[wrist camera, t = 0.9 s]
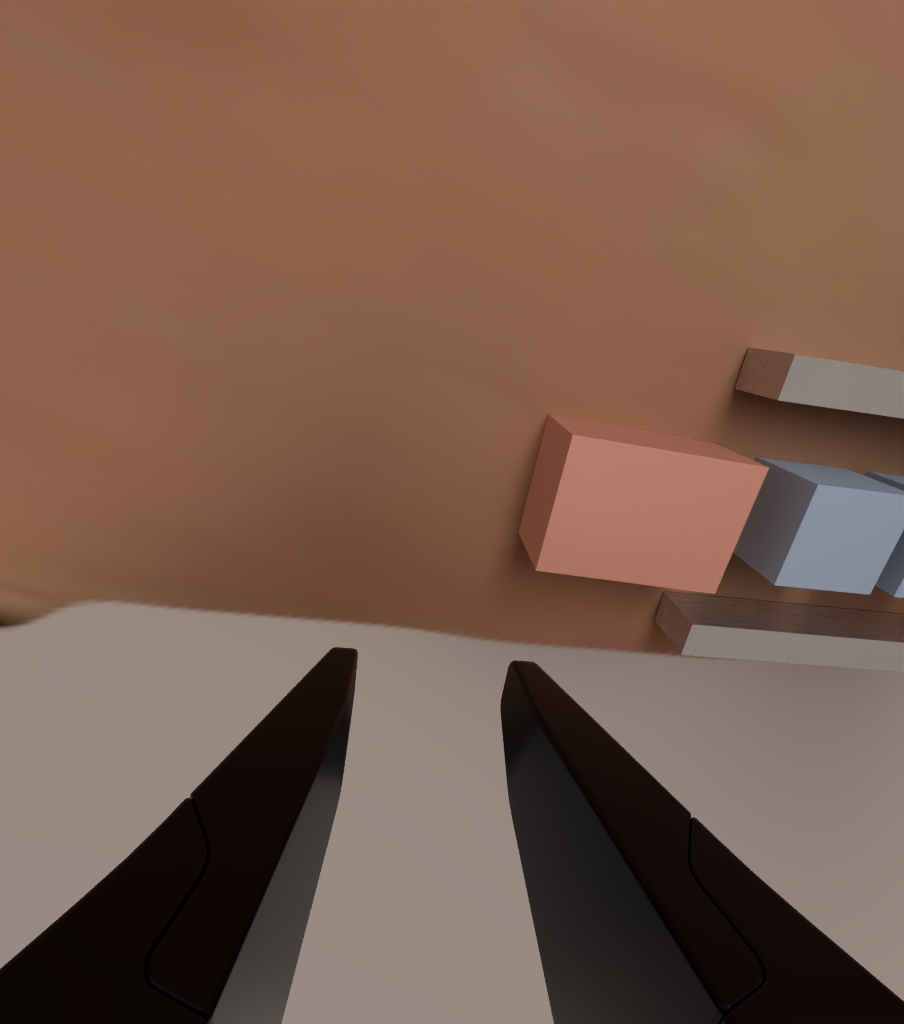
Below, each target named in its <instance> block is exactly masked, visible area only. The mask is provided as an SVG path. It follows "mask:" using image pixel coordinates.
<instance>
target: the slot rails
mask: <svg viewBox="0 0 904 1024" xmlns="http://www.w3.org/2000/svg"><path fill="white" fill-rule="evenodd" d="M734 389H737V390H741V391H745V392H749V393H752V394H756V395H760V396H764V397H767V398H771V399H775V400H779V401H786V402H793V403H800V404H807V405H813V406H820V407H827V408H834V409H841V410H848V411H855V412H862V413H869V414H876V415H882V416H889V417H896V418H903V419H904V371H899V370H893V369H886V368H880V367H874V366H867V365H861V364H855V363H848V362H842V361H836V360H829V359H823V358H816V357H810V356H804V355H797V354H790V353H783V352H776V351H768V350H761V349H753V348H748V351H747V354H746V357H745V360H744V362H743V365H742V368H741V371H740V374H739V377H738V380H737V383H736V386H735V388H734ZM655 621H656V623H657V624H658V625H659V626H660V628H661V629H662V630H663V632H664V633H665V634H666V636H667V637H668V638H669V640H670V641H671V642H672V644H673V645H674V646H675V648H676V649H677V650H678V652H679V653H680V654H681V655H689V656H702V657H715V658H727V659H740V660H753V661H765V662H778V663H792V664H804V665H816V666H831V667H843V668H856V669H867V670H880V671H893V672H904V615H902V614H897V613H886V612H876V611H865V610H854V609H844V608H833V607H822V606H812V605H801V604H790V603H780V602H769V601H758V600H748V599H737V598H726V597H716V596H705V595H694V594H684V593H673V592H664V594H663V597H662V600H661V602H660V605H659V608H658V611H657V614H656V617H655Z"/></svg>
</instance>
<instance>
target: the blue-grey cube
mask: <svg viewBox="0 0 904 1024" xmlns="http://www.w3.org/2000/svg"><path fill="white" fill-rule="evenodd" d="M866 476H867V477H869V478H872V479H874V480H877V481H880V482H882V483H885V484H887V485H890V486H893V487H895V488H898V489H900V490H903V491H904V476H901V475H894V474H886V473H878V472H871V471H868V472H867V474H866ZM875 586H877V587H878V588H880V589H882V590H883V591H885V592H886V593H888V594H890V595H891V596H893V597H900V598H904V530H903V532H902V534H901V536H900V538H899V540H898V542H897V544H896V546H895V548H894V550H893V551H892V553H891V555H890V557H889V559H888V561H887V563H886V565H885V567H884V569H883V571H882V573H881V574H880V576H879V578H878V580H877V582H876V584H875Z"/></svg>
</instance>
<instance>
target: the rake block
mask: <svg viewBox="0 0 904 1024" xmlns="http://www.w3.org/2000/svg"><path fill="white" fill-rule="evenodd" d="M768 469H769V467H767V466H765V465H762V464H760V463H758V462H756V461H754V460H752V459H749V458H747V457H745V456H743V455H741V454H739V453H736V452H734V451H732V450H730V449H728V448H726V447H723V446H721V445H719V444H717V443H712V442H706V441H701V440H695V439H689V438H683V437H678V436H672V435H666V434H660V433H654V432H649V431H643V430H637V429H631V428H625V427H620V426H614V425H608V424H602V423H597V422H591V421H585V420H579V419H573V418H568V417H562V416H556V415H550V414H548V416H547V420H546V424H545V428H544V432H543V436H542V440H541V444H540V448H539V452H538V456H537V460H536V464H535V468H534V472H533V476H532V480H531V484H530V488H529V492H528V496H527V500H526V504H525V508H524V511H523V515H522V519H521V523H520V527H519V531H518V533H519V535H520V537H521V540H522V542H523V544H524V546H525V548H526V551H527V553H528V555H529V557H530V559H531V561H532V564H533V566H534V568H535V570H536V571H542V572H550V573H558V574H565V575H573V576H581V577H588V578H596V579H604V580H611V581H619V582H627V583H635V584H642V585H650V586H658V587H665V588H673V589H681V590H688V591H696V592H704V593H711V594H715V593H716V590H717V588H718V586H719V584H720V581H721V579H722V577H723V574H724V572H725V570H726V567H727V565H728V563H729V560H730V558H731V556H732V553H733V551H734V549H735V546H736V544H737V542H738V539H739V537H740V535H741V532H742V530H743V528H744V525H745V523H746V521H747V518H748V516H749V514H750V511H751V509H752V507H753V504H754V502H755V500H756V497H757V495H758V493H759V490H760V488H761V486H762V483H763V481H764V479H765V476H766V474H767V472H768Z"/></svg>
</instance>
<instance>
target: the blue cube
mask: <svg viewBox="0 0 904 1024" xmlns="http://www.w3.org/2000/svg"><path fill="white" fill-rule="evenodd" d="M755 461H756V462H758V463H760V464H762V465H765V466H767V467H769V469H768V472H767V474H766V476H765V479H764V481H763V483H762V486H761V488H760V490H759V493H758V495H757V497H756V500H755V502H754V504H753V507H752V509H751V511H750V514H749V516H748V518H747V521H746V523H745V525H744V528H743V530H742V532H741V535H740V537H739V539H738V542H737V544H736V546H735V549H734V551H733V553H734V554H735V555H736V556H738V557H739V558H740V559H741V560H743V561H744V562H745V563H747V564H748V565H749V566H750V567H752V568H753V569H754V570H755V571H757V572H758V573H759V574H761V575H762V576H763V577H764V578H766V579H767V580H768V581H769V582H771V583H772V584H773V585H776V586H787V587H797V588H807V589H817V590H827V591H837V592H848V593H858V594H868V595H870V594H871V592H872V590H873V588H874V586H875V584H876V582H877V580H878V578H879V576H880V574H881V573H882V571H883V569H884V567H885V565H886V563H887V561H888V559H889V557H890V555H891V553H892V551H893V550H894V548H895V546H896V544H897V542H898V540H899V538H900V536H901V534H902V532H903V530H904V491H903V490H900V489H898V488H895V487H893V486H890V485H887V484H885V483H882V482H880V481H877V480H874V479H872V478H869V477H867V476H864V475H861V474H859V473H856V472H854V471H851V470H848V469H846V468H839V467H831V466H823V465H816V464H808V463H800V462H793V461H785V460H777V459H770V458H762V457H757V458H756V460H755Z"/></svg>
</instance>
